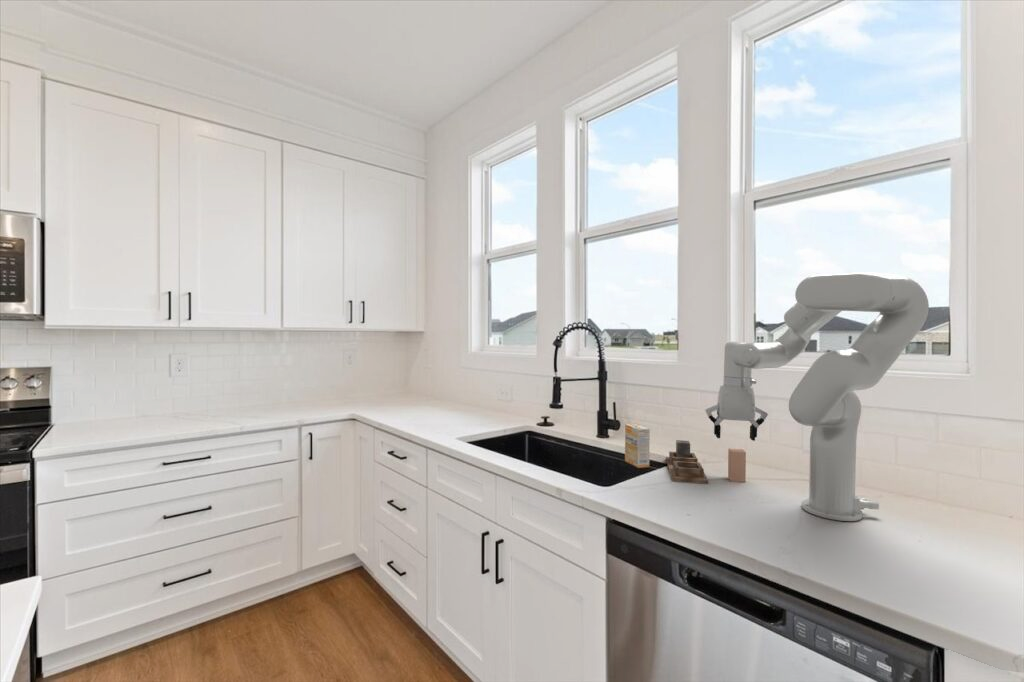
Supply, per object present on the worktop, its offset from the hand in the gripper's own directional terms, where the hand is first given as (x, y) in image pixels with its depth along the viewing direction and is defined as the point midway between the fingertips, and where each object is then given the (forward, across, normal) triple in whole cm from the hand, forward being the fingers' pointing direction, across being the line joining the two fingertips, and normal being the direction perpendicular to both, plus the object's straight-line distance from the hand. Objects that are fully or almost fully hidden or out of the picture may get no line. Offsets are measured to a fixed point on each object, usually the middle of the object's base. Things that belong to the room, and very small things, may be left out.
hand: (735, 438), depth 142 cm
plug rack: (+13, +13, -5) cm, 19 cm away
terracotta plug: (+12, -1, +1) cm, 12 cm away
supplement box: (+13, +28, -9) cm, 33 cm away
